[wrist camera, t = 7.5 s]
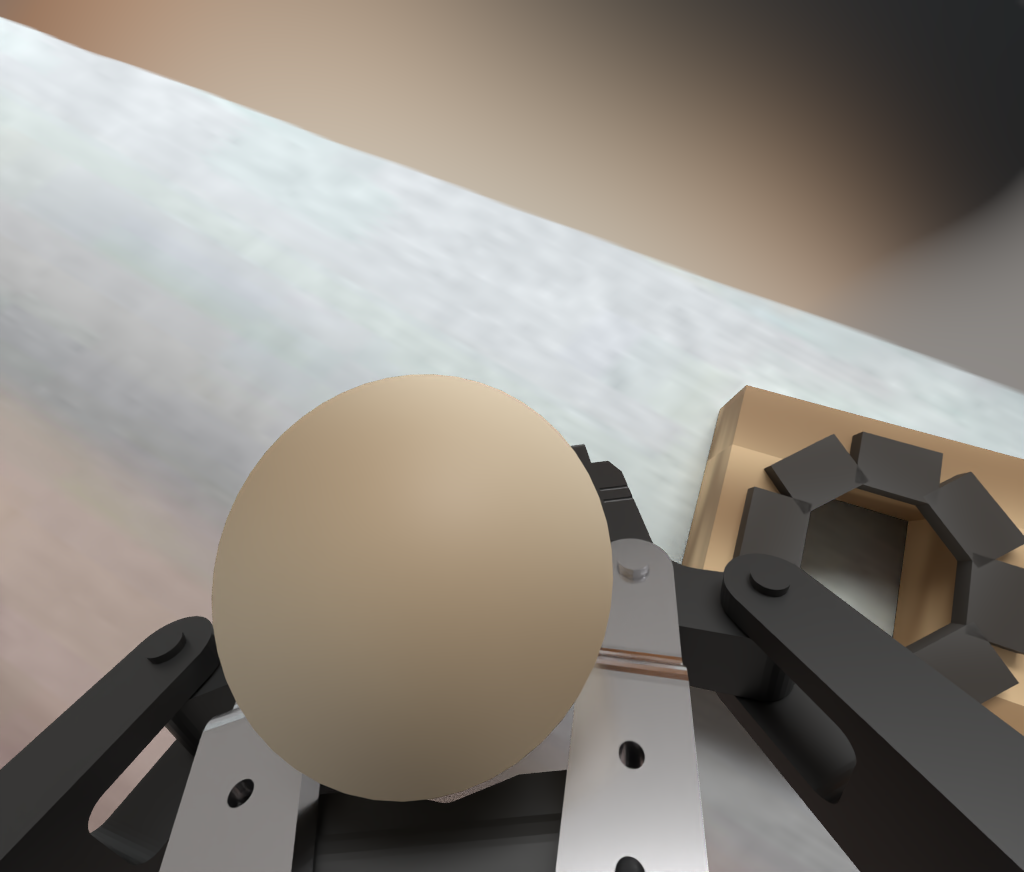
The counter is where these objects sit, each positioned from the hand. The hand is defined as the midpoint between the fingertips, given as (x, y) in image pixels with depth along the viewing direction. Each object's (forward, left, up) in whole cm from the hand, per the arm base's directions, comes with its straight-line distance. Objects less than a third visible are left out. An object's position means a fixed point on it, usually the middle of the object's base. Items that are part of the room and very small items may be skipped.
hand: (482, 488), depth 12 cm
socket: (+2, -13, -9) cm, 16 cm away
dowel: (-2, -1, -7) cm, 7 cm away
